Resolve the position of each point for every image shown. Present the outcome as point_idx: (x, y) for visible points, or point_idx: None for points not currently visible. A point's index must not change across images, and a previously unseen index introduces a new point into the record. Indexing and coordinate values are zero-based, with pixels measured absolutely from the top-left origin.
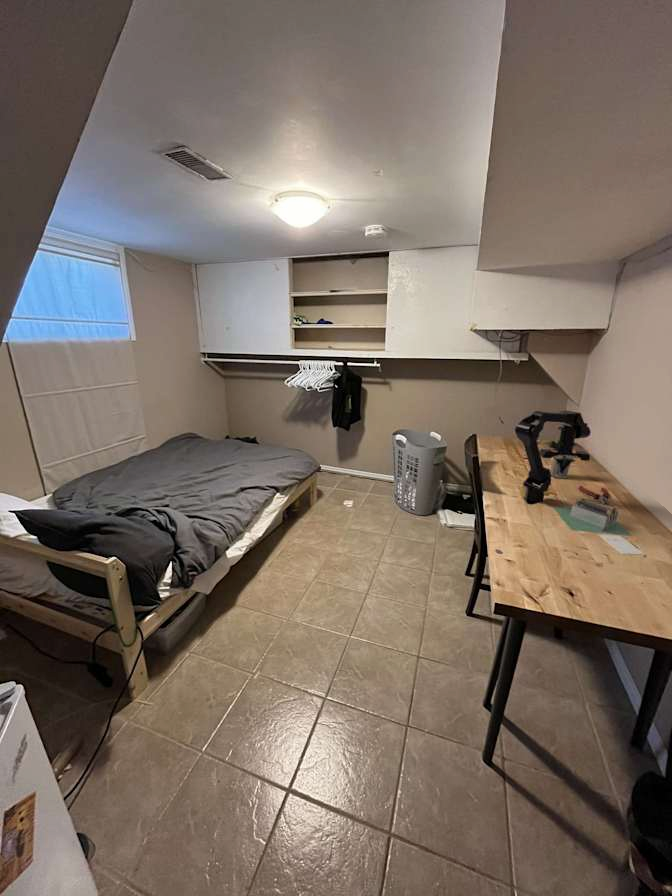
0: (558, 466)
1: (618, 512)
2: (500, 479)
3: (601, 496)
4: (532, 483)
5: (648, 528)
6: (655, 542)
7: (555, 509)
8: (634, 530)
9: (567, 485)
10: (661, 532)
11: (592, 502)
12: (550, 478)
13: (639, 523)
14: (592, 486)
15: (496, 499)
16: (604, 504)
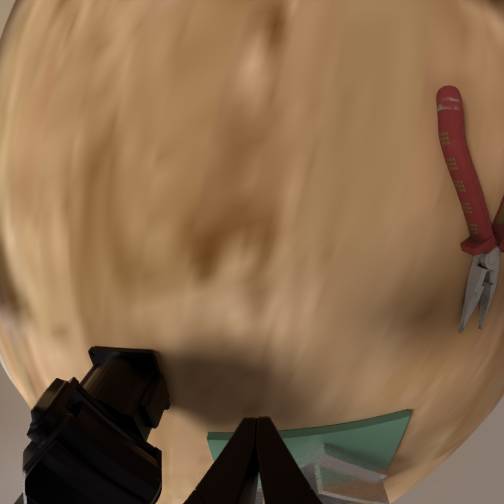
0: (208, 482)
1: (387, 500)
2: (13, 99)
3: (494, 248)
4: (75, 386)
5: (455, 435)
6: (410, 483)
7: (213, 450)
8: (411, 461)
9: (387, 41)
10: (464, 438)
11: (342, 495)
12: (149, 501)
13: (459, 419)
14: (489, 56)
15: (26, 369)
16: (459, 332)
